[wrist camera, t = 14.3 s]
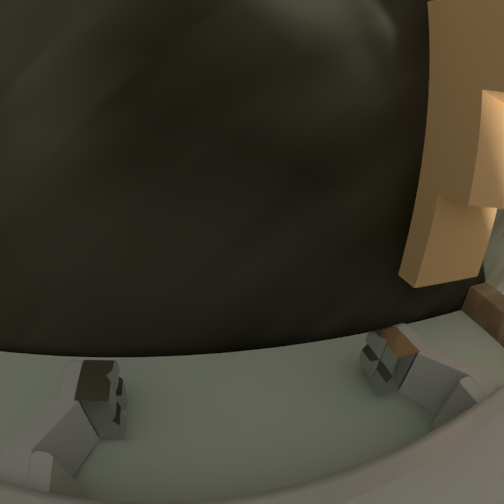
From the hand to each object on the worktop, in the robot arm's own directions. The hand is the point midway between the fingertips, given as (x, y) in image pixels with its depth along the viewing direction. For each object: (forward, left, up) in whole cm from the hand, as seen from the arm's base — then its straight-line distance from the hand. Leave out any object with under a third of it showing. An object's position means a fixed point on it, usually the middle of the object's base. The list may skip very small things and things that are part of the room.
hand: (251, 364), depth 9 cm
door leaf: (+2, -16, -2) cm, 16 cm away
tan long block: (-7, +9, -3) cm, 12 cm away
